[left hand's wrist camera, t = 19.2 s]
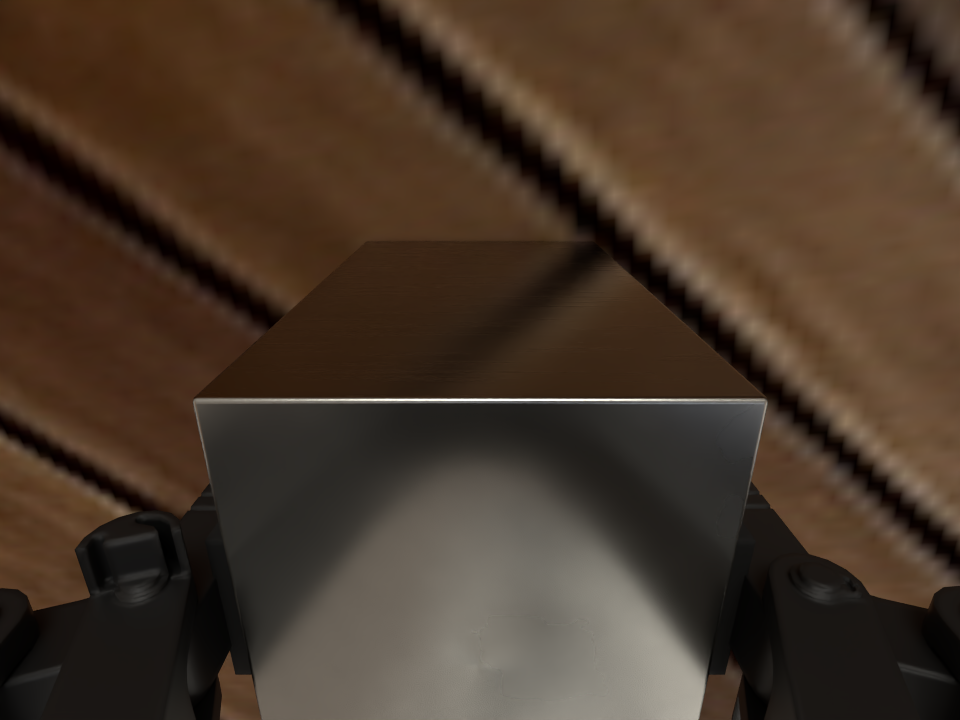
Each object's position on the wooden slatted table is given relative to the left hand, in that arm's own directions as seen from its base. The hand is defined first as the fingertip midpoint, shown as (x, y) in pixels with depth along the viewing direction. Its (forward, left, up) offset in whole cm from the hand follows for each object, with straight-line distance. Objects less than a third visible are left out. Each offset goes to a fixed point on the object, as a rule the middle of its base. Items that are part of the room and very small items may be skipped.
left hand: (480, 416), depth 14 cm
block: (0, 0, -3) cm, 3 cm away
